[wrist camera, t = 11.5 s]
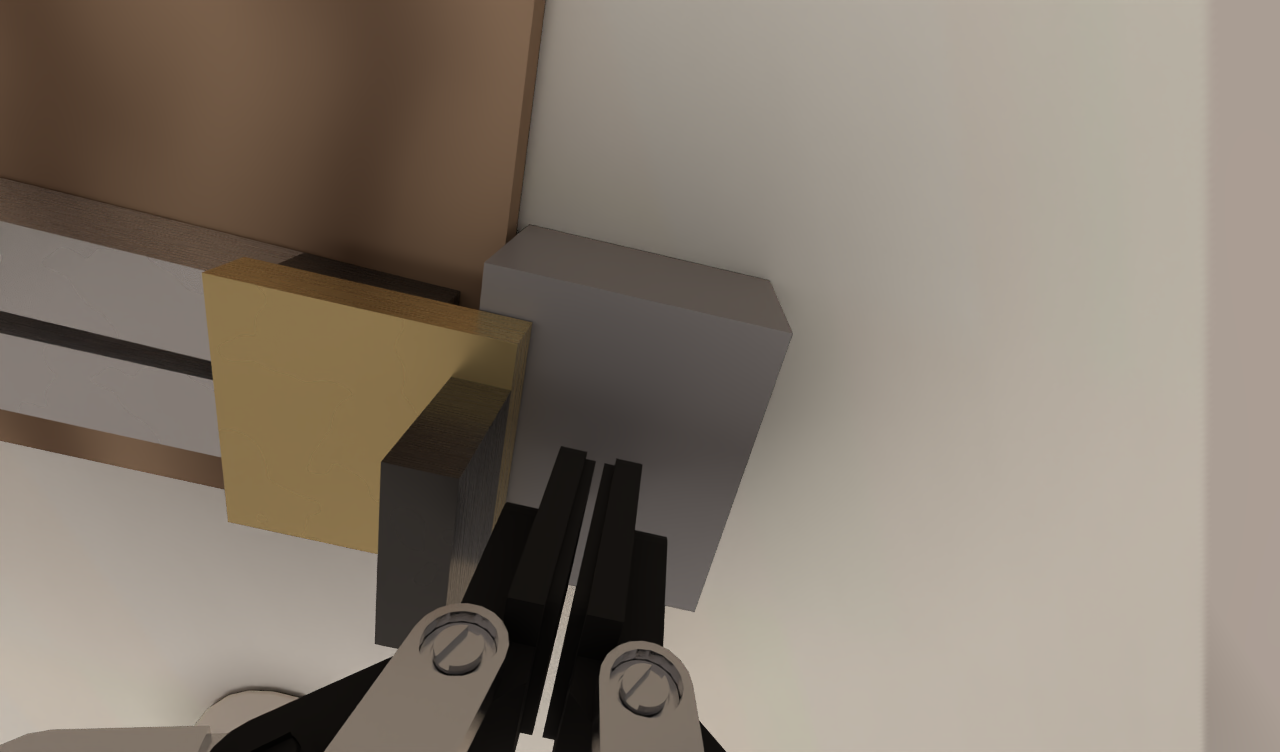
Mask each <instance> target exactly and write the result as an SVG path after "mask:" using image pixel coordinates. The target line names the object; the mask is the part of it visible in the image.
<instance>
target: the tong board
mask: <svg viewBox="0 0 1280 752" xmlns="http://www.w3.org/2000/svg"><path fill="white" fill-rule="evenodd" d="M545 1H546V0H0V178H4V179H8V180H12V181H16V182H21V183H25V184H29V185H33V186H37V187H41V188H45V189H49V190H53V191H57V192H61V193H65V194H69V195H73V196H77V197H81V198H85V199H89V200H93V201H98V202H102V203H106V204H110V205H114V206H118V207H122V208H126V209H130V210H134V211H138V212H142V213H146V214H150V215H154V216H158V217H162V218H166V219H170V220H175V221H179V222H183V223H187V224H191V225H195V226H199V227H203V228H207V229H211V230H215V231H219V232H223V233H227V234H231V235H235V236H239V237H243V238H247V239H251V240H256V241H260V242H264V243H268V244H272V245H276V246H280V247H284V248H288V249H292V250H296V251H300V252H304V253H308V254H312V255H316V256H320V257H324V258H328V259H333V260H337V261H341V262H345V263H349V264H353V265H357V266H361V267H365V268H369V269H373V270H377V271H381V272H385V273H389V274H393V275H397V276H401V277H405V278H410V279H414V280H418V281H422V282H426V283H430V284H434V285H438V286H442V287H446V288H450V289H454V290H458V291H461V295H460V304H459V306H462V307H467V308H471V309H475V310H479V308H480V299H481V289H482V280H483V270H484V262H485V261H487V260H488V259H489V258H490V257H491V256H492V255H494V254H495V253H496V252H497V251H498V250H500V249H501V248H502V247H503V246H504V245H505V244H507V243H508V242H509V241H510V240H511V239H513V238H514V237H515V236H516V231H517V223H518V215H519V207H520V199H521V192H522V184H523V176H524V168H525V160H526V152H527V144H528V136H529V128H530V120H531V112H532V104H533V96H534V88H535V80H536V72H537V64H538V56H539V49H540V41H541V33H542V25H543V17H544V9H545ZM0 441H4V442H9V443H13V444H18V445H23V446H27V447H32V448H36V449H41V450H46V451H50V452H55V453H59V454H64V455H69V456H73V457H78V458H82V459H87V460H92V461H96V462H101V463H105V464H110V465H115V466H119V467H124V468H128V469H133V470H138V471H142V472H147V473H151V474H156V475H161V476H165V477H170V478H174V479H179V480H184V481H188V482H193V483H197V484H202V485H207V486H211V487H216V488H220V489H225V488H224V478H223V469H222V459H221V457H217V456H213V455H208V454H203V453H199V452H194V451H190V450H185V449H181V448H176V447H171V446H167V445H162V444H158V443H153V442H149V441H144V440H139V439H135V438H130V437H126V436H121V435H117V434H112V433H107V432H103V431H98V430H94V429H89V428H85V427H80V426H75V425H71V424H66V423H62V422H57V421H53V420H48V419H43V418H39V417H34V416H30V415H25V414H21V413H16V412H11V411H7V410H2V409H0Z"/></svg>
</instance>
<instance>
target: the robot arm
mask: <svg viewBox="0 0 1280 752" xmlns="http://www.w3.org/2000/svg"><path fill="white" fill-rule="evenodd" d="M586 457H587V452H586V451H582V450H577V449H573V448H568V447H564V446H561V447H560V450H559V452H558V455H557V458H556V461H555V464H554V467H553V469H552V472H551V475H550V478H549V481H548V483H547V486H546V489H545V492H544V495H543V497H542V500H541V503H540V506H539V509H538V508H533V507H529V506H524V505H519V504H515V503H510V502H506V503H505V505H504V507H503V509H502V511H501V513H500V516H499V518H498V520H497V522H496V525H495V527H494V529H493V531H492V534H491V536H490V538H489V540H488V543H487V545H486V547H485V549H484V552H483V554H482V556H481V559H480V561H479V563H478V565H477V568H476V570H475V572H474V574H473V577H472V579H471V581H470V583H469V586H468V588H467V590H466V592H465V595H464V597H463V599H462V601H461V604H450V605H447V606H443V607H440V608H437V609H436V610H434V611H432V612H430V613H429V614H427V615H425V616H424V617H423V618H422V619H421V620H420V621H419V622H418V623H417V624H416V625H415V627H414V628H413V629H412V631H411V632H410V633H409V635H408V636H407V638H406V639H405V640H404V642H403V643H402V645H401V646H400V647H399V649H398V650H397V651H396V653H395V654H394V656H392V657H390V658H388V659H386V660H384V661H381V662H379V663H377V664H375V665H372V666H370V667H368V668H366V669H363V670H361V671H359V672H357V673H354V674H352V675H350V676H348V677H345V678H343V679H341V680H339V681H336V682H334V683H332V684H330V685H327V686H325V687H323V688H321V689H318V690H316V691H314V692H312V693H310V694H307V695H305V696H303V697H301V698H298V699H296V700H294V701H292V702H289V703H287V704H285V705H283V706H280V707H278V708H276V709H274V710H271V711H269V712H267V713H265V714H262V715H260V716H258V717H256V718H253V719H251V720H249V721H248V722H246V723H244V724H242V725H241V726H239V727H237V728H235V729H234V730H232V731H230V732H229V733H211V730H210V726H173V727H134V728H95V729H56V730H47V731H41V732H35V733H29V734H26V735H23V736H21V737H18V738H16V739H13V740H11V741H9V742H6V743H4V744H1V745H0V752H515V750H516V746H517V742H518V738H519V734H520V733H524V734H529V735H532V734H533V730H534V726H535V721H536V717H537V713H538V709H539V705H540V701H541V697H542V692H543V688H544V684H545V680H546V676H547V672H548V667H549V663H550V659H551V655H552V651H553V647H554V642H555V638H556V634H557V630H558V626H559V622H560V618H561V613H562V609H563V605H564V601H565V597H566V593H567V588H568V584H569V580H570V576H571V572H572V567H573V563H574V558H575V554H576V549H577V545H578V540H579V536H580V531H581V527H582V522H583V518H584V513H585V509H586V504H587V500H588V495H589V491H590V486H591V482H592V477H593V473H594V468H595V464H596V461H593V460H589V459H586ZM641 474H642V464H640V463H635V462H631V461H626V460H622V459H617V458H616V462H615V465H611V464H607V463H604V467H603V472H602V476H601V480H600V485H599V489H598V493H597V498H596V502H595V506H594V511H593V515H592V519H591V524H590V528H589V532H588V537H587V541H586V545H585V550H584V554H583V559H582V563H581V567H580V572H579V576H578V581H577V585H576V589H575V594H574V598H573V603H572V607H571V612H570V616H569V621H568V625H567V630H566V634H565V639H564V643H563V648H562V652H561V656H560V661H559V665H558V670H557V674H556V679H555V683H554V688H553V692H552V697H551V701H550V706H549V710H548V715H547V719H546V723H545V728H544V732H543V737H544V738H548V739H553V740H555V741H554V746H553V751H552V752H726V751H725V750H724V749H723V748H722V746H721V745H720V744H719V743H718V742H717V741H716V740H715V738H714V737H713V736H712V735H711V734H710V733H709V731H708V730H707V729H706V728H705V727H704V726H703V724H702V723H701V722H700V721H699V717H698V711H697V705H696V700H695V694H694V688H693V683H692V680H691V677H690V674H689V672H688V670H687V669H686V667H685V666H684V664H683V663H682V661H681V660H680V659H679V658H678V657H676V656H675V655H674V654H673V653H672V652H671V651H670V650H668V649H666V648H664V647H663V637H664V614H665V591H666V568H667V537H665V536H660V535H656V534H651V533H646V532H642V531H637V530H635V525H636V516H637V508H638V500H639V491H640V483H641Z"/></svg>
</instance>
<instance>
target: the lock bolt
mask: <svg viewBox="0 0 1280 752" xmlns="http://www.w3.org/2000/svg"><path fill="white" fill-rule="evenodd" d="M202 281H203V291H204V300H205V309H206V319H207V328H208V338H209V347H210V356H211V366H212V375H213V384H214V394H215V403H216V413H217V422H218V431H219V441H220V450H221V459H222V469H223V478H224V488H225V497H226V506H227V516H228V522H231V523H236V524H241V525H245V526H250V527H254V528H259V529H264V530H268V531H273V532H278V533H282V534H287V535H292V536H296V537H301V538H305V539H310V540H315V541H319V542H324V543H329V544H333V545H338V546H342V547H347V548H352V549H356V550H361V551H366V552H370V553H375V554H378V562H377V593H376V623H375V644H378V645H382V646H387V647H392V648H396V649H399V647H400V646H401V645H402V643H403V642H404V640H405V639H406V638H407V636H408V635H409V633H410V632H411V631H412V629H413V628H414V627H415V625H416V624H417V623H418V622H419V621H420V620H421V619H422V618H423V617H424V616H425V615H427V614H429V613H430V612H432V611H434V610H436V609H437V608H440V607H443V606H447V605H450V604H461V601H462V599H463V597H464V595H465V592H466V590H467V588H468V586H469V583H470V581H471V579H472V577H473V574H474V572H475V570H476V568H477V565H478V563H479V561H480V559H481V556H482V554H483V552H484V549H485V547H486V545H487V543H488V540H489V538H490V536H491V534H492V531H493V529H494V527H495V525H496V522H497V520H498V518H499V516H500V513H501V511H502V509H503V507H504V505H505V503H506V498H507V491H508V484H509V478H510V471H511V464H512V457H513V450H514V444H515V437H516V430H517V423H518V416H519V410H520V403H521V396H522V389H523V382H524V376H525V369H526V362H527V355H528V348H529V342H530V335H531V328H532V322H528V321H524V320H519V319H515V318H511V317H506V316H502V315H497V314H493V313H489V312H484V311H480V310H475V309H471V308H467V307H462V306H458V305H454V304H449V303H445V302H440V301H436V300H432V299H427V298H423V297H419V296H414V295H410V294H405V293H401V292H397V291H392V290H388V289H384V288H379V287H375V286H370V285H366V284H362V283H357V282H353V281H349V280H344V279H340V278H335V277H331V276H327V275H322V274H318V273H314V272H309V271H305V270H300V269H296V268H292V267H287V266H283V265H279V264H274V263H270V262H265V261H261V260H257V259H252V258H248V257H242V258H239V259H237V260H234V261H231V262H229V263H226V264H223V265H221V266H218V267H215V268H213V269H210V270H207V271H205V272H202Z"/></svg>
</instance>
